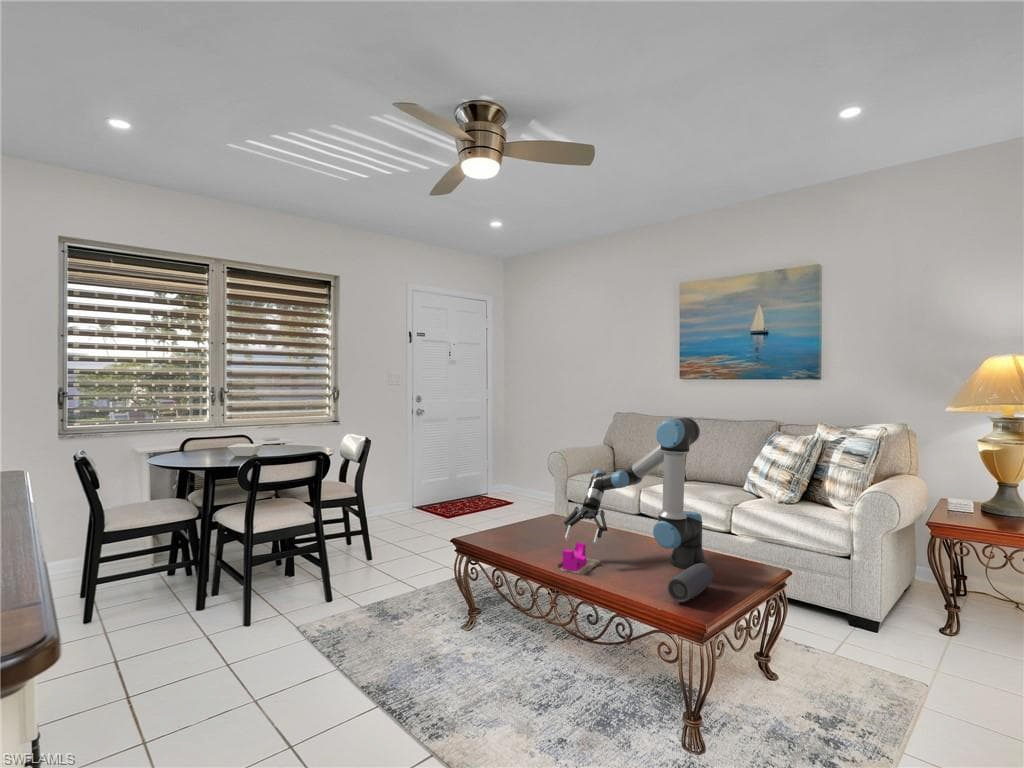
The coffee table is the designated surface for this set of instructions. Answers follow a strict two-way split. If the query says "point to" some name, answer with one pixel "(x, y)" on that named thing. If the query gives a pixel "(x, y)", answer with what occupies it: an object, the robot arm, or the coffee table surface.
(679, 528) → the robot arm
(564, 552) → the toy block
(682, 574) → the bluetooth speaker
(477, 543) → the coffee table surface
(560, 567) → the board
